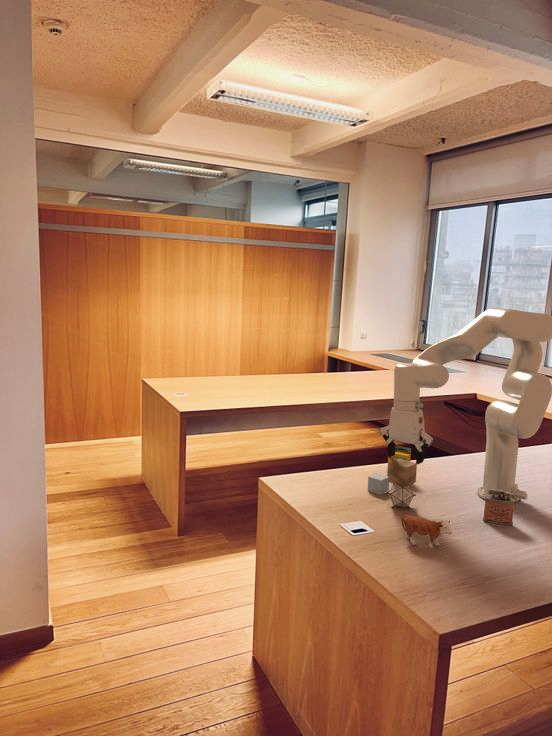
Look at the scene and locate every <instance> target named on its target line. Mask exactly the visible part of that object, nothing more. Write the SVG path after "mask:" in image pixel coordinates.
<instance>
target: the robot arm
mask: <svg viewBox="0 0 552 736" xmlns="http://www.w3.org/2000/svg"><path fill="white" fill-rule="evenodd" d="M499 337H500V338H505V339H511V341H512V345H513V351H512V356H511V359H510V362H509V363H508V364H509V365H508V366H507V369H506V372H505V374H504V377H503V379H502V382H501V390H502V393H503V394H504V395H505V396H507V397H509V398H512V399H515V400H518V401H519V402H518V403H516V402H513V401H509V400H505V399H497V400H495V401H493V402H491V403H490V404H488V406H487V407H486V410H485V416H484V417H485V419H484V420H485V427H486V444H485V455H484V456H485V457H484V468H483V481H482V482H483V483H482V486H481V487H479V488H477V492H476V493H477V495H478V496H479V497H480V498H481V499H484V500H485V496H486V495H489V496H492V494H488V489H494V490H498V491H499V490H500V489H502V490H504V491H505V492H511V497H510V498H511V499H514V500H515V503H517V502H519V500H521V499H522V500H525V501H527V500H528V496H529V495H528V493H527V491H526V490H525V491H524V490H520V489H519V485H518V484H516V478H517V477H516V476H517V475H516V474H517V467H518V466H517V465H518V455H519V454H518V453H519V439H523V440H524V439H529V438H531V437H533V436H534V435H535V434H536V433H537V432H538V430H539V429H540V426H541V424H542V422H543V420H544V417H545V415H546V411H547V409H548V408H549V405H550V402H551V399H552V381H551V380H550V378H549V377H548V376H546V375H544V374H543V373H539V369H540V367H541V363H542V361H543V348H542V345H541V343H545V342H548V341H550V340H552V315H551V314H548V313H542V312H532V311H524V310H517V309H512V308H502V307H492V308H488V309H486V310H485V311H483V312H482V313H481V314H479V315H478V316H476V318H474V319H473V320H472V321H471V322H469V323H468V324H467V325H466V326H465V327H463V328H462V329H461V330H459V332H457V333H456V334H454V335H452V336H449V337H447V338H445V339H443V340H441V341H439V342H437V343H435V344H432V345H430V346H429V347H428V348H426V349H425V350H423V351H422V352H421V353H420V354H418V355H417V356H416V357H415V358H414V359H413V360H412V361H411V362H410V363H409V362H402V363H398V364H396V365H395V367H394V371H393V372H394V373H393V406H392V407H391V411H390V414H389V423H388V425H386V426H384V427H380V432H381V434H382V438H383V440H384V441H385V444H386V445H387V447H386V449H387V458H388V457H392V456H394V455H395V446H396V442H395V441H397V442H401V443H406V444H411V445H414V446H415V448H416V449H417V451H416V454H415V463H416V464H417V465H421V464H422V463H423V462H424V461H425V450H427V449H428V448H429V447H431V444H432V443H433V440H434V438H433V437H432V436H431V435H430V434H429V433H427V432H426V430H425V429H426V428H425V419H424V418H425V417H424V414H423V410H422V409H423V408H424V403H422V402H421V399H420V398H421V397H420V396H421V394H420V393H421V389H422V388H423V389H424V388H426V389H439V388H442V387H443V386H445V385H446V384H447V383H448V381H449V380H450V379H449V378H450V373H449V371H448V369H447V368H446V367H445V364H448V363H450V362H454V361H459V360H465V359H470V358H472V357H475V356H477V355H478V354H479V353H480V352H481V351H482V350H484V348H487V346H489V344H491V343H492V342H493V341H495V339H497V338H499ZM424 441H425V443H424ZM495 496H497V495H495ZM505 497H506V498H507V496H505Z"/></svg>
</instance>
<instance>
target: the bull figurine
mask: <svg viewBox="0 0 552 736" xmlns="http://www.w3.org/2000/svg"><path fill="white" fill-rule="evenodd" d="M450 522H451V521H450V520H442V519H440V518H436V519H435V518H422V517H418V516H413V515H408V514H405V515H403V516H402V517H401V525H402V528H403V534H404V537H405V538H406V539H408V540H410V544H412V545H413V546H415V545H417V542H416V541H415V540H414V538H413V533H414V532H416V534H417V535H418V536H419V537H422V536H429V544H428V545H427V546H428V547H429V549H431V550H432V549H434V546H433V543H434V544H435V545H436V547H440V546H441V544H440V542H439V539H440V538H441V537H443V536H444V535H452V534H453V533H454V532H453V530H452V526H451V523H450ZM434 541H435V542H434Z"/></svg>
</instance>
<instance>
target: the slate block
mask: <svg viewBox="0 0 552 736" xmlns="http://www.w3.org/2000/svg"><path fill="white" fill-rule="evenodd" d="M387 491H388V492H390V482H388V476H387V475H384V474H382V473H378V472H376V473H373V474H371V475H368V477H367V492H370V493H374V494H376V495H380V496H381V495H384V494H385V492H386V493H388V492H387Z"/></svg>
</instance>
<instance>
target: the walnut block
mask: <svg viewBox="0 0 552 736" xmlns="http://www.w3.org/2000/svg"><path fill="white" fill-rule="evenodd" d="M417 467H418V464H416V462H414V461H407V460H403V459H398V460H395V461H393V462H390V463H389V475H388V482H389V484H393V483H394V484H397V485H400V486H403V487H407V486H409V485H410V486H411V485H413V484H414V483H416V482H417V470H418V469H417Z"/></svg>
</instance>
